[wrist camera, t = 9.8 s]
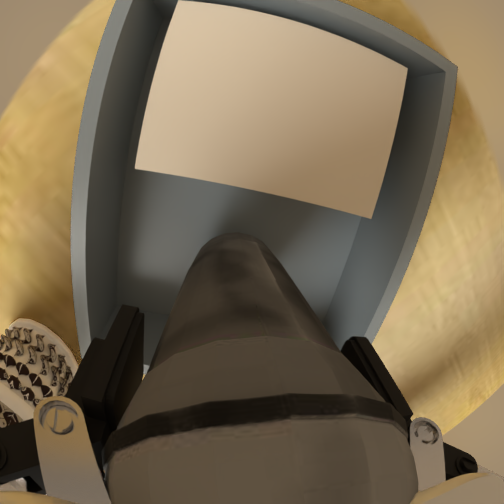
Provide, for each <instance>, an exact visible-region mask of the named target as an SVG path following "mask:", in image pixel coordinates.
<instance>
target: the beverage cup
mask: <svg viewBox="0 0 504 504" xmlns="http://www.w3.org/2000/svg"><path fill="white" fill-rule="evenodd" d="M407 439H408V431H407V425H406V421H405V419H404V418H403V417H402V416H401V414H400V413H399V412H398V411H397V410H396V409H395V408H394V407H393V406H392V405H391V404H390V403H386V402H385V400H384V399H383V398H382V397H381V396H380V394H379V393H378V392H377V391H376V390H375V389H374V388H373V387H372V386H371V384H370V383H369V382H368V381H367V380H366V379H365V378H364V377H363V376H362V374H361V373H360V372H359V371H358V370H357V369H356V368H355V367H354V366H353V365H352V364H351V363H350V361H349V360H348V359H347V358H346V357H345V356H344V355H343V354H342V353H341V351H340V350H339V348H338V347H337V345H336V344H335V342H334V341H333V339H332V338H331V336H330V335H329V333H328V332H327V330H326V329H325V327H324V326H323V324H322V323H321V321H320V320H319V318H318V317H317V315H316V314H315V312H314V311H313V310H312V308H311V307H310V305H309V304H308V302H307V301H306V299H305V298H304V296H303V295H302V293H301V292H300V290H299V289H298V287H297V286H296V284H295V283H294V282H293V280H292V279H291V277H290V276H289V274H288V273H287V271H286V270H285V268H284V267H283V265H282V264H281V263H280V261H279V260H278V259H277V258H276V257H275V255H274V254H273V253H272V252H271V251H270V249H269V248H268V247H267V246H266V245H265V244H264V243H263V242H262V241H261V240H259V239H257V238H255V237H254V236H252V235H249V234H244V233H239V232H235V233H224V234H222V235H219V236H217V237H214V238H212V239H211V240H209V241H208V242H207V243H206V244H205V245H203V246H202V247H201V249H200V250H199V252H198V254H197V256H196V257H195V259H194V261H193V263H192V265H191V266H190V268H189V270H188V272H187V274H186V277H185V279H184V281H183V284H182V286H181V288H180V291H179V293H178V295H177V298H176V300H175V303H174V305H173V308H172V310H171V312H170V315H169V317H168V320H167V322H166V325H165V327H164V330H163V332H162V335H161V337H160V340H159V343H158V345H157V348H156V350H155V353H154V356H153V358H152V361H151V363H150V366H149V369H148V371H147V374H146V375H145V377H144V379H143V381H142V382H141V384H140V386H139V387H138V389H137V391H136V393H135V394H134V396H133V398H132V400H131V402H130V404H129V406H128V407H127V409H126V411H125V413H124V415H123V417H122V419H121V421H120V422H119V424H118V426H117V429H116V430H115V431H113V432H112V433H111V435H110V436H109V438H108V440H107V442H106V444H105V446H104V448H103V449H102V466H103V469H104V471H105V477H104V482H105V485H106V489H107V492H108V495H109V498H110V501H111V504H410V502H411V500H412V499H413V497H414V496H415V494H416V493H418V476H417V470H416V465H415V460H414V456H413V454H412V451H411V449H410V446H409V444H408V441H407Z"/></svg>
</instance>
